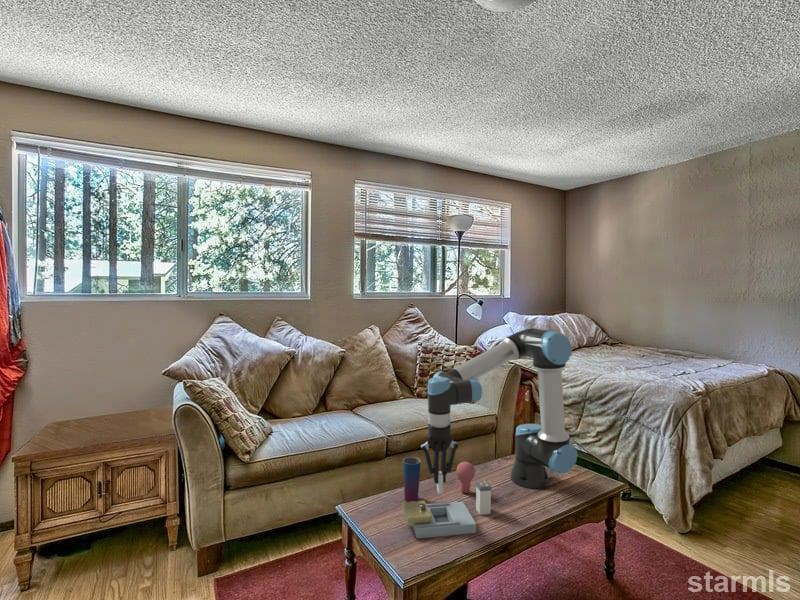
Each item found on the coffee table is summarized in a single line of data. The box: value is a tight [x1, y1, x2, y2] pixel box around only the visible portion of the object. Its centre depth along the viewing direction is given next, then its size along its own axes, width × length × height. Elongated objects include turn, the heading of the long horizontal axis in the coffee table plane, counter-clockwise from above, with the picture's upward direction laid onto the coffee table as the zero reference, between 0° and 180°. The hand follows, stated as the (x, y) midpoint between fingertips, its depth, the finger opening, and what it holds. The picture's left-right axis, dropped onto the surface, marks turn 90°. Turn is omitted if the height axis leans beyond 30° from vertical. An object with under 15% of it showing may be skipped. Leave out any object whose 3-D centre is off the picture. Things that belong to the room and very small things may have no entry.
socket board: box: [412, 501, 477, 539], centre depth 141 cm, size 20×14×4 cm
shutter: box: [401, 500, 432, 527], centre depth 140 cm, size 8×10×4 cm
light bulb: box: [456, 461, 476, 494], centre depth 163 cm, size 7×7×12 cm
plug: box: [475, 480, 492, 516], centre depth 149 cm, size 4×4×10 cm
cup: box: [402, 456, 422, 502], centre depth 157 cm, size 7×7×15 cm
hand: (439, 491), depth 141 cm, fingers closed
